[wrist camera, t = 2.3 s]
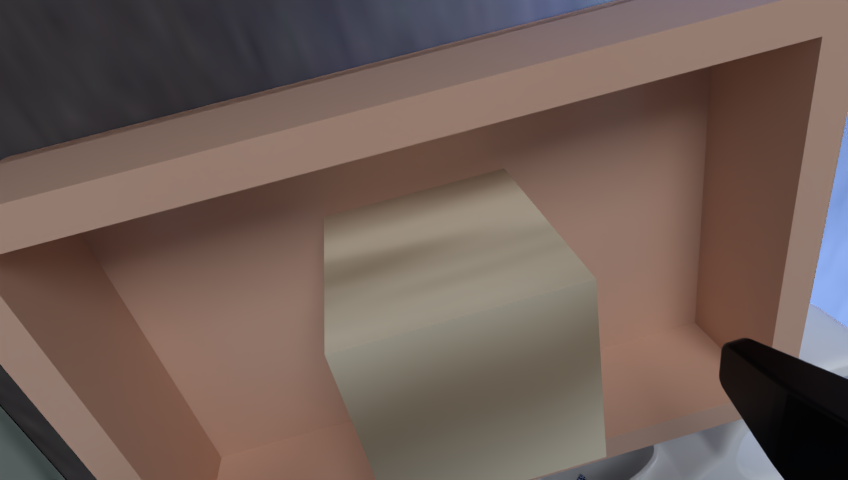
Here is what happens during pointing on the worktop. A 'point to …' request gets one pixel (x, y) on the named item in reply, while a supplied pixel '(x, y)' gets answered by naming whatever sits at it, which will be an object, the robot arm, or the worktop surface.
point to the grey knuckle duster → (721, 430)
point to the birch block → (463, 335)
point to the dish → (411, 172)
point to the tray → (21, 455)
